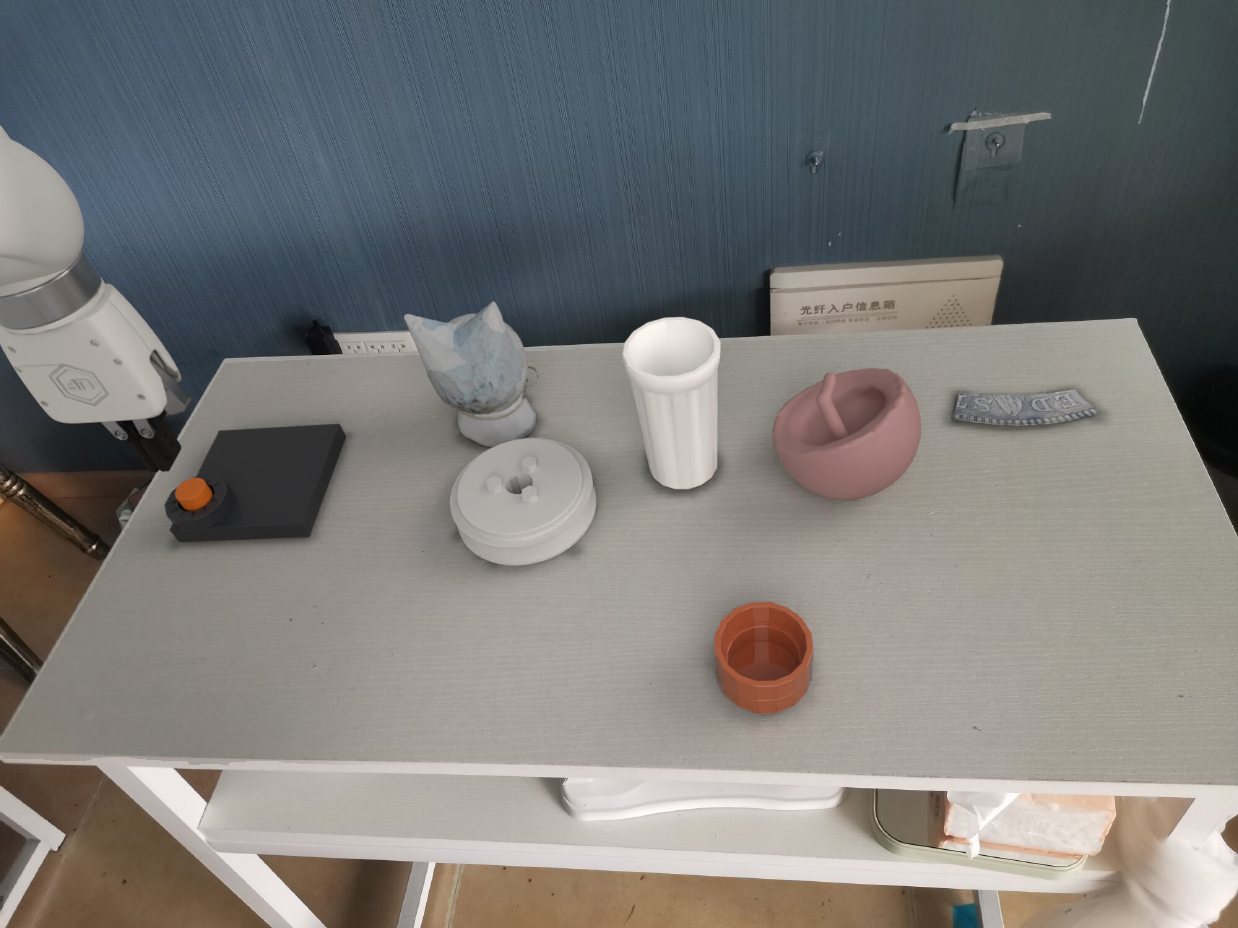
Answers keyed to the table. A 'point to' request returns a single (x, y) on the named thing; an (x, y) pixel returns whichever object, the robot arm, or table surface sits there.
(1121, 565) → the table surface
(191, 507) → the button
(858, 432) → the mortar and pestle
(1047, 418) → the coin fragment
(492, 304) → the figurine
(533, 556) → the gray bolted wheel hub
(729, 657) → the flower pot
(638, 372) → the cup
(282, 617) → the table surface
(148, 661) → the table surface
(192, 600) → the table surface
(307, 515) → the scale
